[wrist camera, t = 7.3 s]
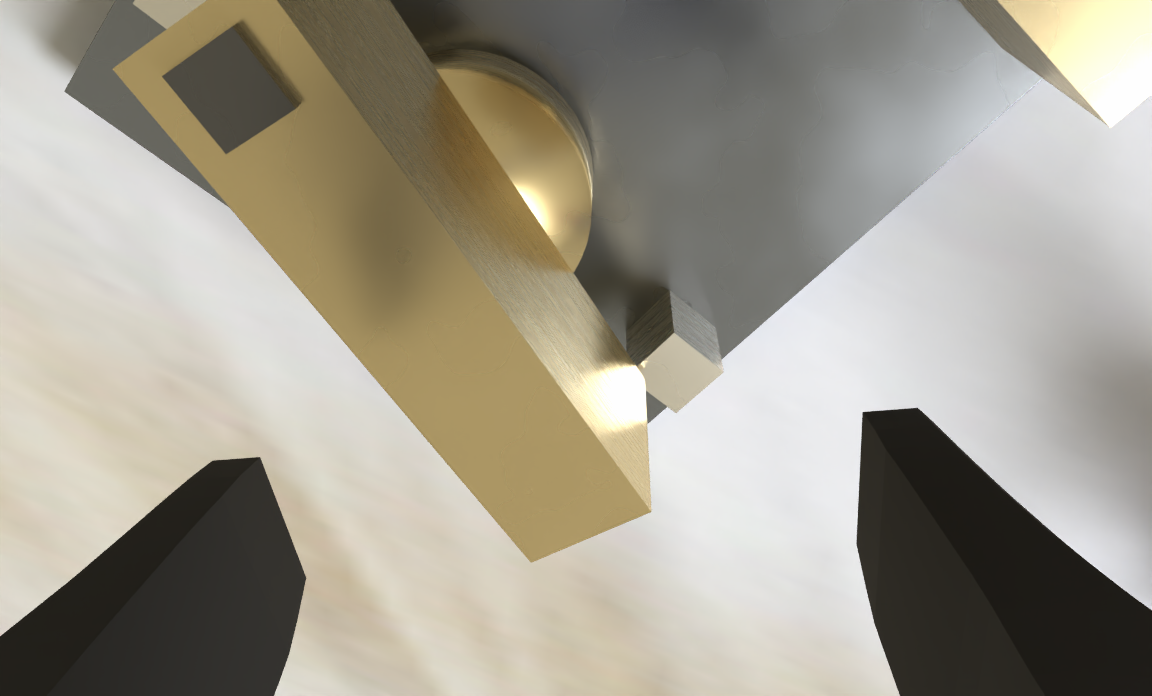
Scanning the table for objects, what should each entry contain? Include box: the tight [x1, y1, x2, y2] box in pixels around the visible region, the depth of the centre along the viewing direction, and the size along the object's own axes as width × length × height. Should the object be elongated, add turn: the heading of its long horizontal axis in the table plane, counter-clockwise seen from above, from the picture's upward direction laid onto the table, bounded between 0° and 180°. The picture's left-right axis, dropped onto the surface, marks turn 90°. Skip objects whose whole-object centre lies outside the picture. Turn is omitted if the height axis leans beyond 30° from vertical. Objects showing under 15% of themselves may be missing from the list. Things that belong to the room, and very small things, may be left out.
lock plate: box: [64, 0, 1152, 424], centre depth 15 cm, size 17×14×7 cm
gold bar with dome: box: [113, 0, 651, 562], centre depth 16 cm, size 10×5×6 cm, turn 31°
